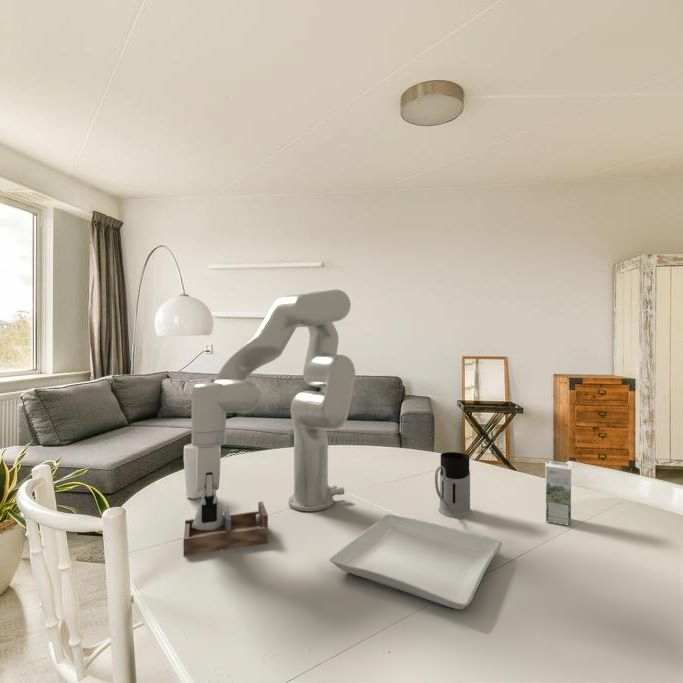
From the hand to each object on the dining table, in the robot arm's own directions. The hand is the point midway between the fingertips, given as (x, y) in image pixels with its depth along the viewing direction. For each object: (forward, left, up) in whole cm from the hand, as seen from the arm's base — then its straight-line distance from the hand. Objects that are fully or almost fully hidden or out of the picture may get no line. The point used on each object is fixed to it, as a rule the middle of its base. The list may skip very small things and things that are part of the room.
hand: (209, 515), depth 97 cm
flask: (0, 0, -2) cm, 2 cm away
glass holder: (-61, +4, -6) cm, 61 cm away
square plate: (-41, +24, -6) cm, 48 cm away
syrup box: (-85, +16, -6) cm, 86 cm away
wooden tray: (-4, 0, -6) cm, 7 cm away
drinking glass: (+3, -31, -6) cm, 32 cm away
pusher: (-4, 0, -5) cm, 6 cm away
